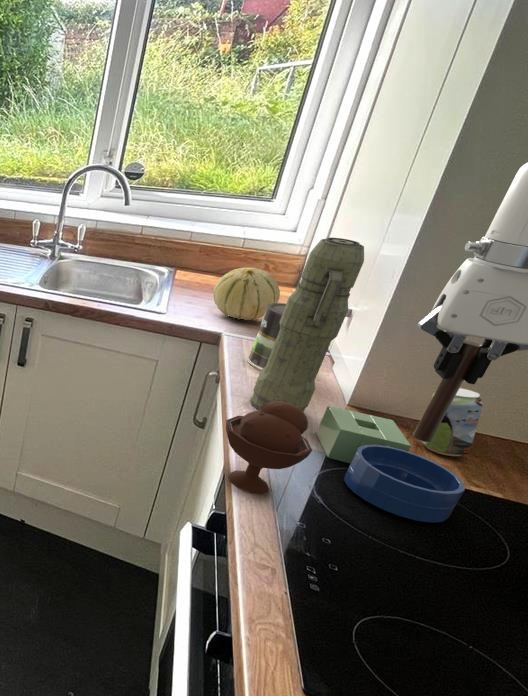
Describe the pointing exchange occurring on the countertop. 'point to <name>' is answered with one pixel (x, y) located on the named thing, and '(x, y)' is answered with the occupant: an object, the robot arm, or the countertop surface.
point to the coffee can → (266, 335)
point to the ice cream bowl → (267, 442)
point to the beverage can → (457, 425)
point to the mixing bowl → (404, 483)
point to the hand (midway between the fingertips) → (454, 376)
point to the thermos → (310, 323)
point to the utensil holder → (356, 433)
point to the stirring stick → (446, 393)
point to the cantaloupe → (246, 293)
